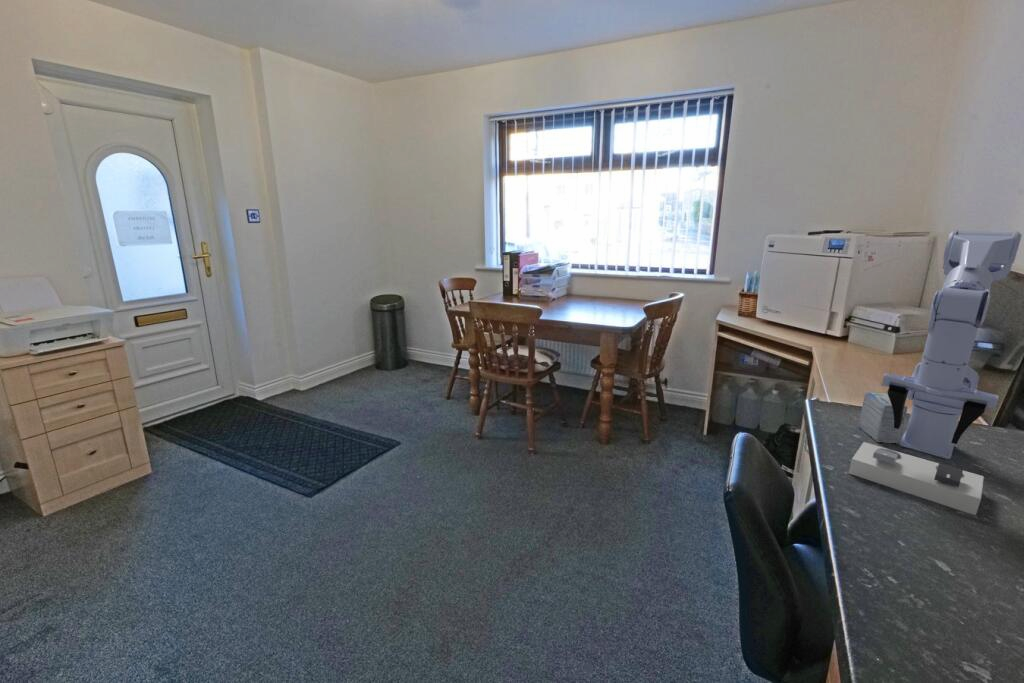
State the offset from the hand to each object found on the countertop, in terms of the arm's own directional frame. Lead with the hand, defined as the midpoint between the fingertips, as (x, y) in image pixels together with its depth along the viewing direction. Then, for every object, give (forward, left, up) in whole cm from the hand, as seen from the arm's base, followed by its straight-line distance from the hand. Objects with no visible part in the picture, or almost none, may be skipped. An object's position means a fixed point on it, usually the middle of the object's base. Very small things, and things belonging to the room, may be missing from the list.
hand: (924, 434), depth 81 cm
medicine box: (-19, -8, -10) cm, 22 cm away
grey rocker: (+2, -4, -5) cm, 7 cm away
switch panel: (0, 0, -9) cm, 9 cm away
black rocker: (+2, +4, -5) cm, 7 cm away
